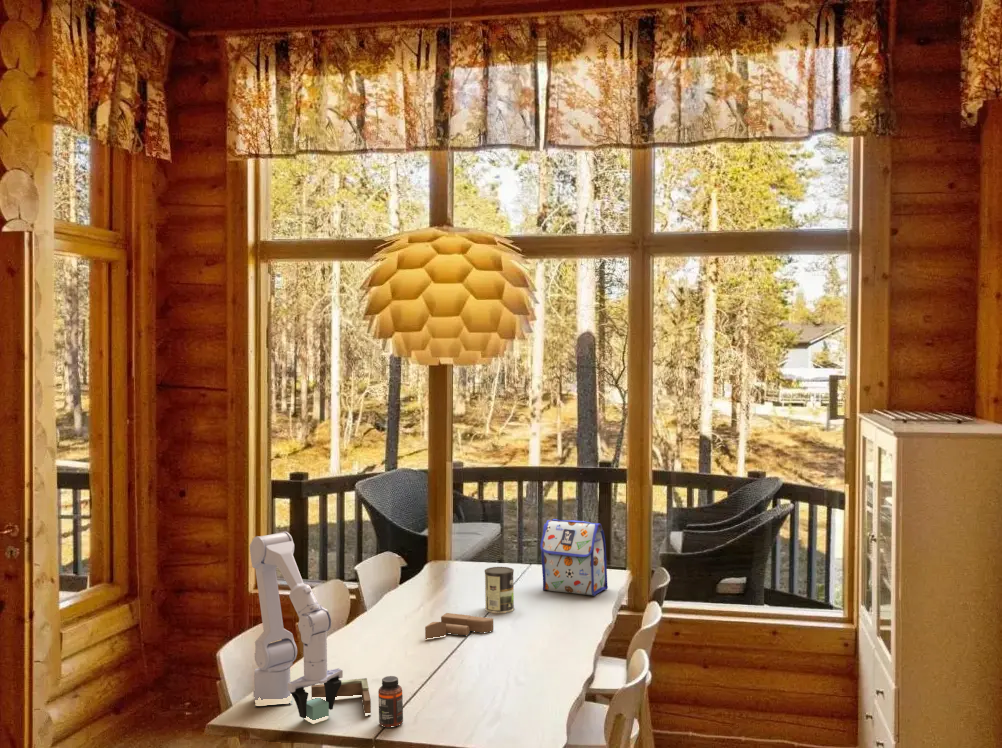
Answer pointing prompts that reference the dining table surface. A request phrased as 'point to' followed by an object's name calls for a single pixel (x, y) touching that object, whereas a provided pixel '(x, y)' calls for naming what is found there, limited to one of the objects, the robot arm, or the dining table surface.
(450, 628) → the wooden block set
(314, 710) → the teal cube
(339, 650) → the dining table surface
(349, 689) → the corner arena
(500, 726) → the dining table surface
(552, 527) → the lunch bag
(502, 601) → the coffee can
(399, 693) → the supplement bottle
